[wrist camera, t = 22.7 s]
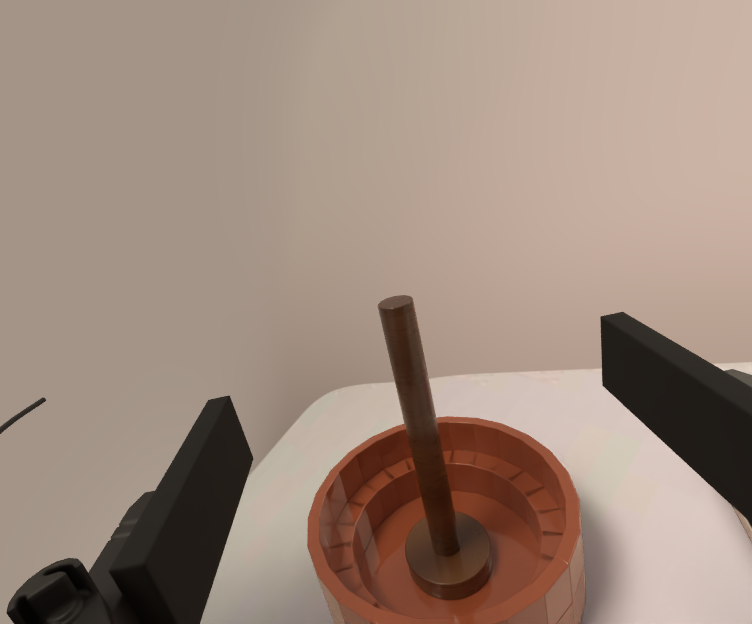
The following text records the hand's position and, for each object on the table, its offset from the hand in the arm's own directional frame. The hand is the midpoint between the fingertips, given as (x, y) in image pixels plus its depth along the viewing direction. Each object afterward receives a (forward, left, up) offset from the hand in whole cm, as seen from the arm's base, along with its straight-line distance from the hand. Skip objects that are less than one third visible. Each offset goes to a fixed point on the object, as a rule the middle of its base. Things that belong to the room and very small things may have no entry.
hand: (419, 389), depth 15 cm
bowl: (-9, +3, -21) cm, 23 cm away
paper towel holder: (-9, +3, -20) cm, 22 cm away
